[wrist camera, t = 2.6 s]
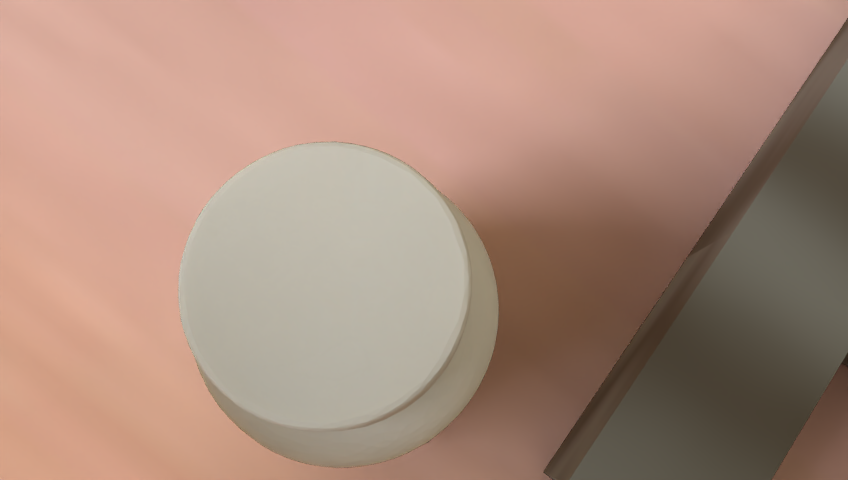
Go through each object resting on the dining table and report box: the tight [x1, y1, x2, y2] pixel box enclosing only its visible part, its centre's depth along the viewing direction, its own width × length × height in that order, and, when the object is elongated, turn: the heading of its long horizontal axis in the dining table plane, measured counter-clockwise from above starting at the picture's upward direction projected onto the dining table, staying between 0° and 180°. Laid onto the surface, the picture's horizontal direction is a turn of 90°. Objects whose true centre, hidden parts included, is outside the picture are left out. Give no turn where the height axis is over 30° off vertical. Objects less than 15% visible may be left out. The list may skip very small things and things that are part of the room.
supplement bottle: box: [178, 142, 499, 468], centre depth 14 cm, size 5×5×10 cm
